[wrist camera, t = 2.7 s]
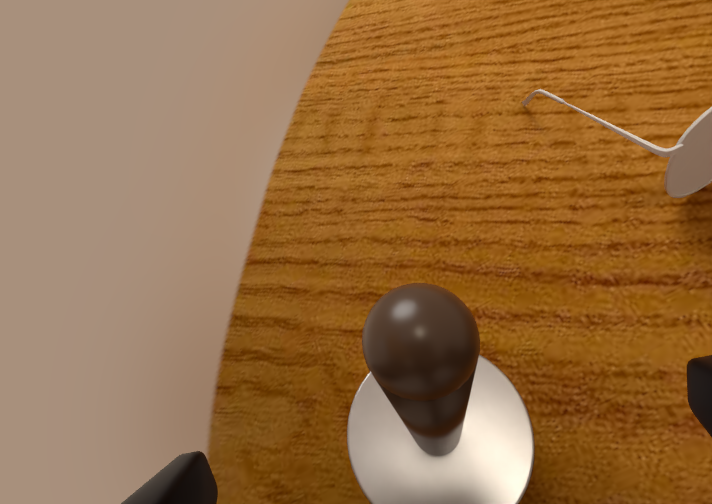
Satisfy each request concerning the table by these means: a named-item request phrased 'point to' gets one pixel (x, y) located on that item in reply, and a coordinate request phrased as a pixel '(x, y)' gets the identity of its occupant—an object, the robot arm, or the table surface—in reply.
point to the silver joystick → (435, 408)
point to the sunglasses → (672, 152)
